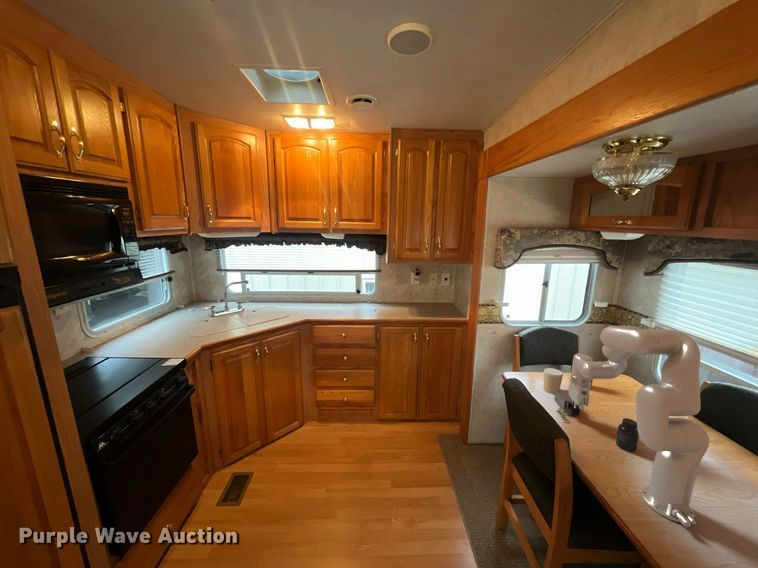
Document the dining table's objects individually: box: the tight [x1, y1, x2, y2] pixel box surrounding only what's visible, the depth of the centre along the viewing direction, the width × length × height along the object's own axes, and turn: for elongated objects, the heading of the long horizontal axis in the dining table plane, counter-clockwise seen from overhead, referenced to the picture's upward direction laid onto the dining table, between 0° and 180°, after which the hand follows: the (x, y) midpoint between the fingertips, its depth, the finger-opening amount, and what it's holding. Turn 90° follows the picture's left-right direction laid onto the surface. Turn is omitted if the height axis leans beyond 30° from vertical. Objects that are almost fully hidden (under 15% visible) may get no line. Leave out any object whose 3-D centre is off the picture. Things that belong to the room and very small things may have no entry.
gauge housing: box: [554, 389, 572, 424], centre depth 146 cm, size 20×9×6 cm, turn 169°
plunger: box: [558, 402, 573, 415], centre depth 148 cm, size 11×8×6 cm
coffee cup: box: [543, 367, 564, 395], centre depth 164 cm, size 9×9×12 cm
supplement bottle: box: [615, 417, 640, 453], centre depth 121 cm, size 7×7×12 cm
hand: (575, 414), depth 140 cm, fingers closed
